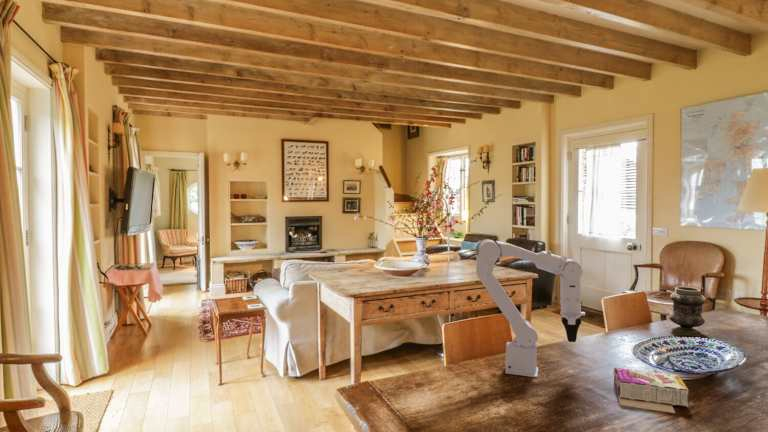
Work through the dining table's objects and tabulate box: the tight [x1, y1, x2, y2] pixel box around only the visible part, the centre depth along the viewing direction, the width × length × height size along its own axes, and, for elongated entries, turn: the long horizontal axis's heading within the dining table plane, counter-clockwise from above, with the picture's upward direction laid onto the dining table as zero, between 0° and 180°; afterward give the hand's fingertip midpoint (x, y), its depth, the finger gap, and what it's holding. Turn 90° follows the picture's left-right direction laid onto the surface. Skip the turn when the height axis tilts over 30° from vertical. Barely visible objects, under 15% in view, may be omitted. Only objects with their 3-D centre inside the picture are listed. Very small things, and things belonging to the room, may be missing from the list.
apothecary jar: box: [668, 285, 706, 337], centre depth 180 cm, size 12×12×18 cm
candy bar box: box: [613, 367, 690, 408], centre depth 123 cm, size 11×5×16 cm
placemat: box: [614, 386, 676, 414], centre depth 122 cm, size 12×13×1 cm
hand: (571, 341), depth 138 cm, fingers closed
